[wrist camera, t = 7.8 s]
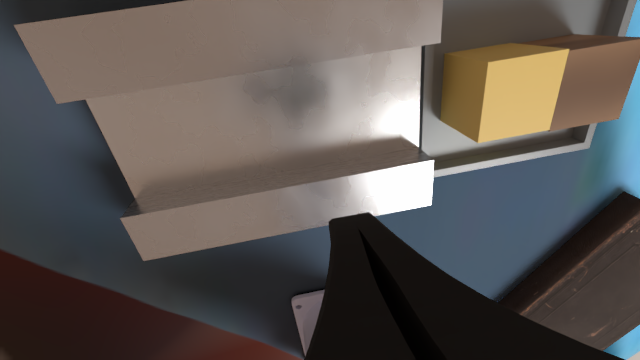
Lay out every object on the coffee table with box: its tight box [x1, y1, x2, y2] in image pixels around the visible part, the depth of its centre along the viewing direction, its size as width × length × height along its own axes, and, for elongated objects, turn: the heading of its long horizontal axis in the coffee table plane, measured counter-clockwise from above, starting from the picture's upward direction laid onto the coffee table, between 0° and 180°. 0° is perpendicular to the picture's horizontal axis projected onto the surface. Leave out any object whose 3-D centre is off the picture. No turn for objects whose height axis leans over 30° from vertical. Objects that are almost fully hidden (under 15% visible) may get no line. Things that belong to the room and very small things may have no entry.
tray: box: [419, 0, 637, 177], centre depth 18 cm, size 11×12×1 cm
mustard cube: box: [440, 43, 569, 143], centre depth 17 cm, size 4×4×4 cm
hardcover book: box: [498, 192, 640, 351], centre depth 31 cm, size 16×23×2 cm
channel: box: [14, 0, 443, 261], centre depth 16 cm, size 12×17×4 cm
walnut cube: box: [517, 34, 640, 132], centre depth 17 cm, size 4×4×4 cm
